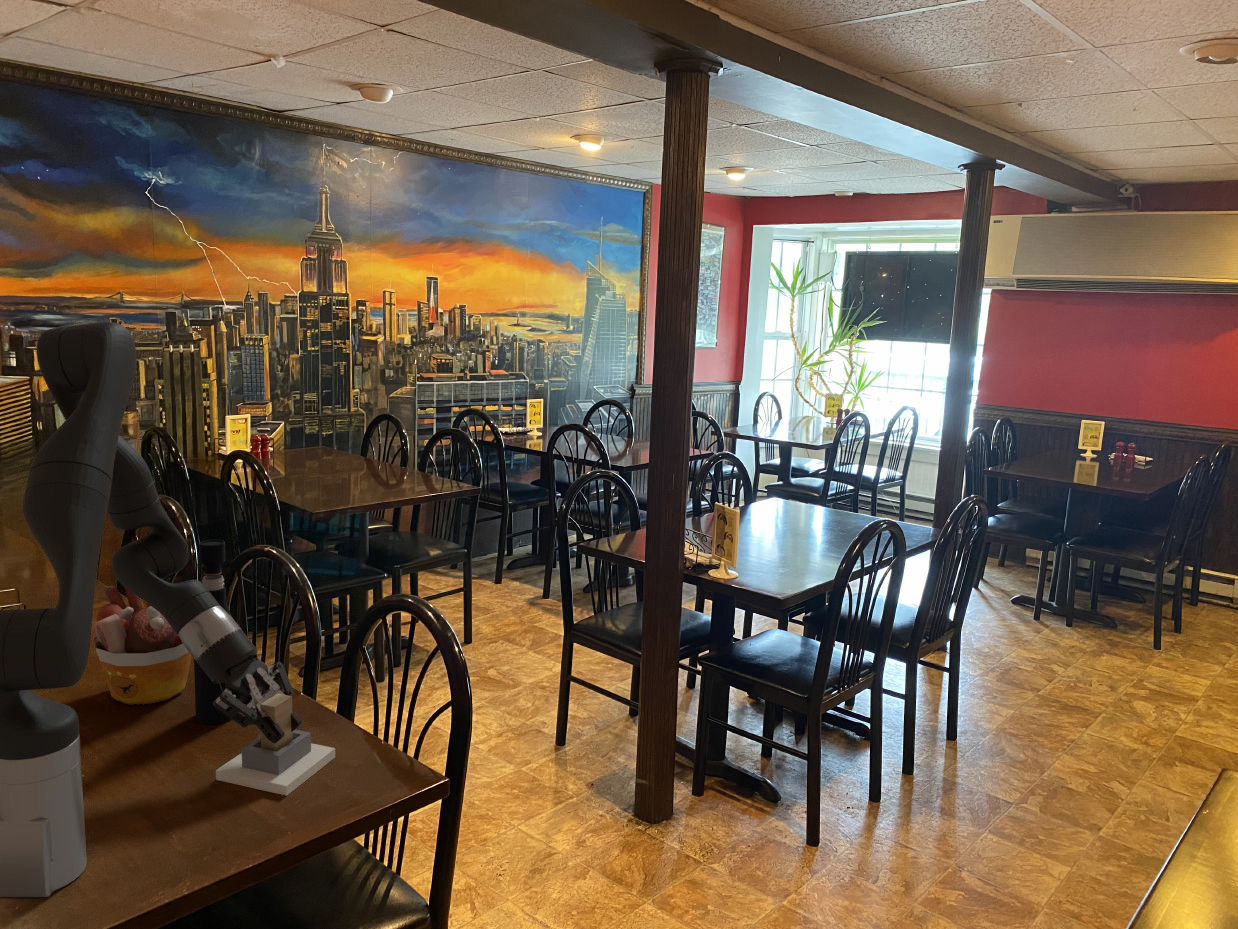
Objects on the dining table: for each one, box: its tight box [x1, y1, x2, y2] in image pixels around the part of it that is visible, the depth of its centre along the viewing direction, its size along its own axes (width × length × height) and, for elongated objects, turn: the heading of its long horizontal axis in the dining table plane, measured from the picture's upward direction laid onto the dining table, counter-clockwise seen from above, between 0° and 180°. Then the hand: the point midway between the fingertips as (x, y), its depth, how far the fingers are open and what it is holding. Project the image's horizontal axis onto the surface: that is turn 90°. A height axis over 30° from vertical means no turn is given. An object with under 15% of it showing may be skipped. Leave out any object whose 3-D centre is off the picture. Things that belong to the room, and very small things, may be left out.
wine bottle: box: [193, 539, 233, 725], centre depth 150 cm, size 6×6×30 cm
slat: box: [260, 694, 293, 752], centre depth 136 cm, size 2×4×9 cm, turn 164°
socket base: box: [215, 729, 336, 797], centre depth 137 cm, size 12×12×4 cm
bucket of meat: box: [93, 585, 193, 706], centre depth 159 cm, size 20×16×20 cm
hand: (288, 733), depth 136 cm, fingers closed on slat, 3 cm apart
